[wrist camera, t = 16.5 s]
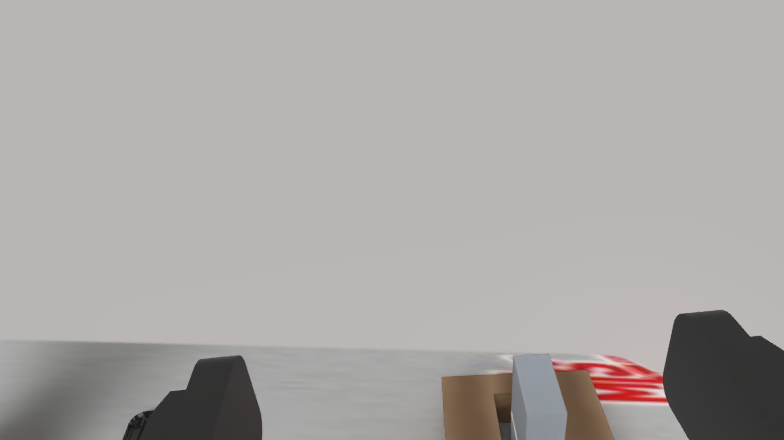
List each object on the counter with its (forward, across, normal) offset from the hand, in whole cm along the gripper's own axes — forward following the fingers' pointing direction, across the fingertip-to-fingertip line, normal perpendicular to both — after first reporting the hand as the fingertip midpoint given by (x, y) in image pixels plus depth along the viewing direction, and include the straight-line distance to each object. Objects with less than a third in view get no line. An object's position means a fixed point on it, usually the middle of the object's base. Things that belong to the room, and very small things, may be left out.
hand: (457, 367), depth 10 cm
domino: (+18, -7, +31) cm, 36 cm away
